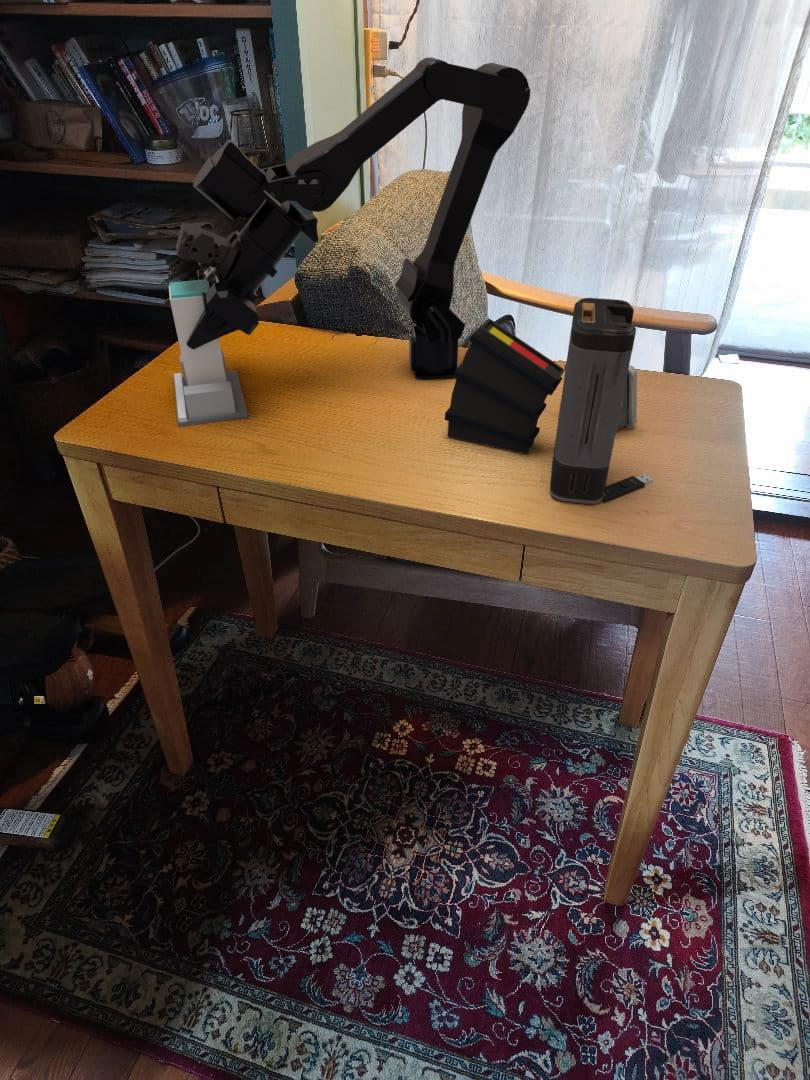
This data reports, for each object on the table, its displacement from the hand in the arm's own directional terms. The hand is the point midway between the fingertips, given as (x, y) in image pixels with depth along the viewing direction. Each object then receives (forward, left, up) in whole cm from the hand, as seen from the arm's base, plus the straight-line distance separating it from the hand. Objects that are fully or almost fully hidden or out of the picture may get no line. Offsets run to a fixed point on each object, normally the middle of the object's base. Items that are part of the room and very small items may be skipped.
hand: (188, 339), depth 96 cm
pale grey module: (-1, 0, -7) cm, 7 cm away
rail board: (-1, 0, -9) cm, 9 cm away
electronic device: (-46, +26, -9) cm, 53 cm away
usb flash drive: (-51, +28, -9) cm, 59 cm away
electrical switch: (-53, +12, -9) cm, 55 cm away
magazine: (-39, +16, -9) cm, 43 cm away
